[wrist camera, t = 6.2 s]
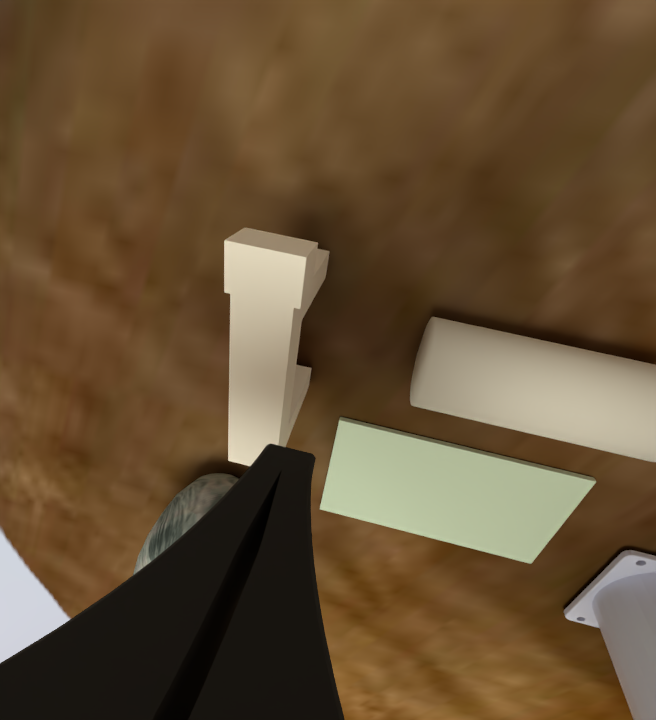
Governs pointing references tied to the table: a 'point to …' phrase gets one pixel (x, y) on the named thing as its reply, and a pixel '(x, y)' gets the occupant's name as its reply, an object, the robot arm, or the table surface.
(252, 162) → the table surface
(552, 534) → the mat
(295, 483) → the robot arm
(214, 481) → the mottled grey-green ovoid
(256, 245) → the cream flat notched block
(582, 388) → the cylinder
